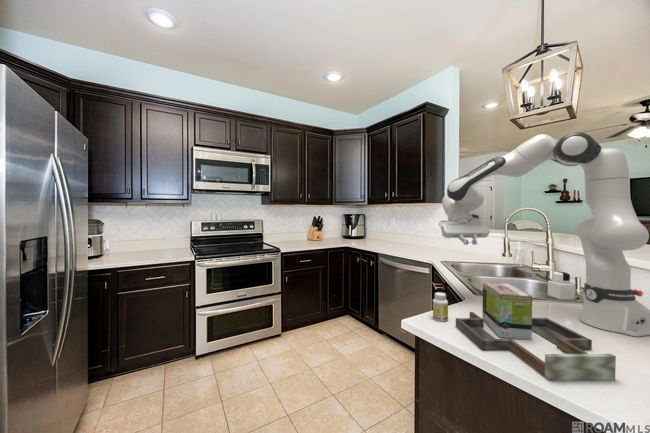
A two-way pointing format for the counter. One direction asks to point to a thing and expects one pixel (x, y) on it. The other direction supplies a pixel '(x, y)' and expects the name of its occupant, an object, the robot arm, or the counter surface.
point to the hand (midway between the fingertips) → (471, 243)
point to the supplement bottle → (440, 307)
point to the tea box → (507, 310)
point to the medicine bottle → (561, 286)
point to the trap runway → (555, 365)
